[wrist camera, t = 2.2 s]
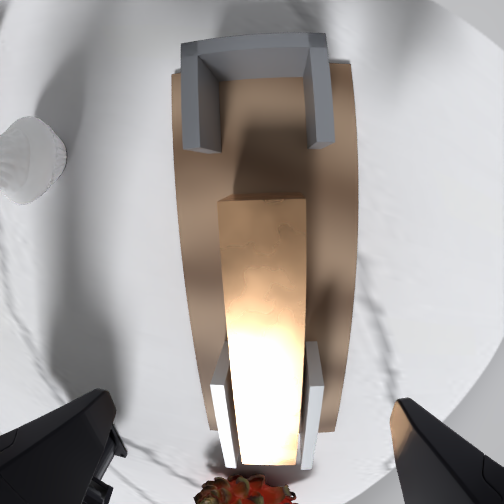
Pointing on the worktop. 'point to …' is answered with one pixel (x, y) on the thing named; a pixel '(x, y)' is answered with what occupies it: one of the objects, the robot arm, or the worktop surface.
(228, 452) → the grey guide channel
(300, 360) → the wooden plank
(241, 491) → the dragon fruit
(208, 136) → the charcoal socket
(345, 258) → the walnut board
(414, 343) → the worktop surface
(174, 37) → the worktop surface
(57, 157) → the white ridged dome
